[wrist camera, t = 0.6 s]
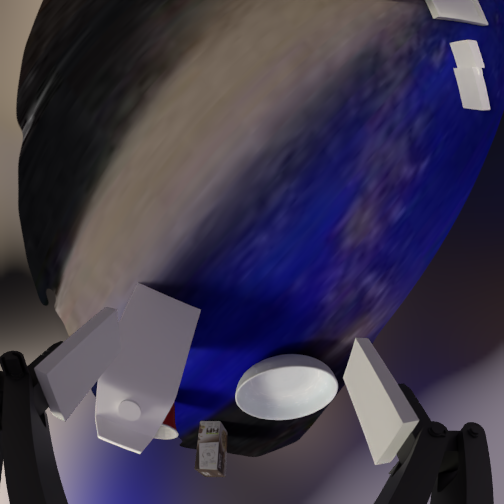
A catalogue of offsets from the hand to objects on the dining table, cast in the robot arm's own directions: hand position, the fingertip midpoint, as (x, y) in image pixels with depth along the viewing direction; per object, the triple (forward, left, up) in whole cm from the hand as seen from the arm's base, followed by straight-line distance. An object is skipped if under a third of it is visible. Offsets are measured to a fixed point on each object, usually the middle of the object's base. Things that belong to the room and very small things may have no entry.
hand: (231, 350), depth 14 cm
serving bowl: (+39, -5, -27) cm, 47 cm away
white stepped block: (-11, +42, -28) cm, 51 cm away
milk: (+16, -22, -27) cm, 38 cm away
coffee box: (+60, -32, -27) cm, 73 cm away
